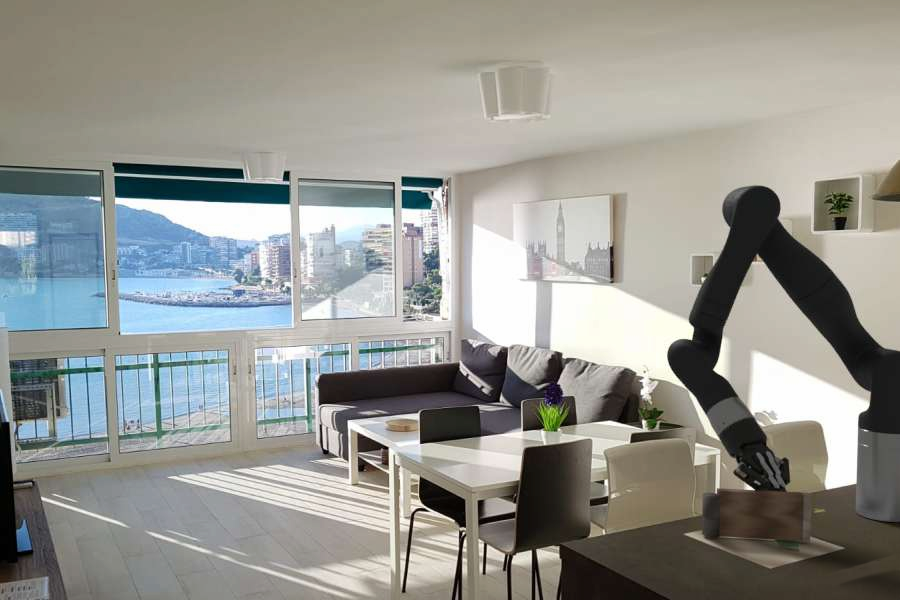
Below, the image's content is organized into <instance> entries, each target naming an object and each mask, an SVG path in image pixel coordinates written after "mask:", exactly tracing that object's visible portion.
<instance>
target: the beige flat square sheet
mask: <svg viewBox="0 0 900 600" xmlns="http://www.w3.org/2000/svg"><path fill="white" fill-rule="evenodd" d="M683 535H685V536H687V537H689V538H692V539H695V540H697V541H700V542H702V543H704V544H706V545H709V546H712V547H714V548H717V549H720V550H722V551H724V552H727V553H730V554H733V555H734V556H737V557H739V558H742V559H744V560H745V559H746V560H747V561H750V562H753V563H755V564H758V565H759V566H763V567H765V568H768V569H775V568H778V567H782V566H785V565H790V564H793V563H797V562H800V561H803V560H807V559H811V558H814V557H818V556H822V555H823V556H824V555H826V554H829V553H833V552H837V551H840V550H845V547H843V546H840V545H836V544H835V543H830V542H828V541H824V540H823V539H822V540H821V539H818V538H816V537H813V536H810V542H805V541H791V540H773V539H755V538H738V537H720V536H719V537H707V536H704V535H702V529H700V530H696V531H692V532H687V533H683Z"/></svg>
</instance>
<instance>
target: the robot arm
mask: <svg viewBox="0 0 900 600" xmlns="http://www.w3.org/2000/svg"><path fill="white" fill-rule="evenodd" d="M721 213H722V215H723V216H722V217H723V219H724V222H725V223H726V225H727V226H728V227H729V232H728V235H727V237H726V241H725V243H724V245H723V248H722V250H721V252H720V254H719V256H718V258H717V259H716V262H715V263H714V264H713V266H712V267H711V269H710V270H709V272H708V273H707V274H706V277H705V279H704V280H703V282H702V284H701V285H700V287H699V290H698V293H697V295H696V298H695V300H694V303H693V305H692V308H691V310H690V312H689V316H688V322H689V325H690V326H692V328H693V332H692V338H691V339H689V338H680V339H679V338H678V339H677V340H674V341H673V342H672V343H671V344H670V345H669V347H668V349H667V352H666V353H667V354H666V355H667V356H666V359H667V363H668V366H669V368H670V369H671V371H672V373H673V375H675V376H676V378H677V379H678V380H679V381H680V382H681V383H682V385H683V386H684V387H685V388H686V389H687V390H688V391H689V392H690V393H691V394H692V395H693V396H694V398H695V399H696V401H697V403H698V404H699V406H700V408H701V409H702V411H703V413H704V415H706V417H707V419H708V422H709V423H710V426H711V428H712V429H713V431H714V432H715V434H716V437H718V439H719V441H720V443H722V446H723V448H724V449H725V451H727V454H728V455H729V457H731V458H733V459H735V461H736V463H737V467H736V468H735V469H734V470H733V471H732V473H733V475H734V476H735V477H736V478H738V479H739V480H741V481H742V482H743V483H745V484H746V485H747V486H749V487H751V488H752V490H762V491H783V492H788V491H787V489H786V487H787V486H788V484H790V483H791V474H790V470H791V469H790V460H789V459H788V458H787V457H786V456H785V457H782V458H780V457H777V456H776V455H775V452H774V451H773V449H771V448H770V447H769V446H768V445H767V442H768V437H767V435H766V433H765V432H764V430H763V429H762V427H761V425H760V424H759V422H758V421H757V420H756V418H755V416H754V415H753V413H752V412H751V410H750V408H749V407H748V406H747V405H746V404H745V403H744V401H743V400H742V399H741V398H740V396H739V395H738V394H737V392H736V390H735V389H734V388H733V386H732V384H731V383H730V382H729V380H728V379H727V378H726V377H724V376H723V375H722V374H720V373H718V372H716V371H715V367H716V366H717V364H718V363H719V362H718V361H719V358H720V354H721V348H722V343H723V342H722V341H723V335H724V328H725V326H726V324H727V321H728V319H729V317H730V314H731V311H732V309H733V307H734V304H735V301H736V299H737V296H738V293H739V292H740V289H741V287H742V285H743V282H744V280H745V278H746V276H747V274H748V272H749V270H750V268H751V265H752V264H753V262H754V260H755V258H756V256H758V257H759V258H760V259H761V260H762V262H763V263H764V265H765V266H766V268H767V269H768V270H769V272H770V273H771V274H772V276H773V277H774V278H775V279H776V281H777V283H778V284H779V285H780V286H781V288H782V289H783V290H784V292H785V293H786V294H787V296H788V297H789V298H790V299H791V300H792V302H793V303H794V305H795V306H796V307H797V308H798V309H799V310H800V311H801V313H802V314H803V315H804V316H805V317H806V318H807V319H808V320H809V322H810V323H811V324H812V325H813V326H814V327H815V329H816V330H817V331H818V332H819V333H820V334H821V336H822V337H823V338H824V339H825V340H826V341H827V342H828V343H829V345H830V346H831V347H832V348H833V350H834V352H835V353H836V355H837V356H838V357H839V359H840V360H841V362H842V363H843V365H844V366H845V368H846V369H847V371H848V373H849V374H850V375H851V377H852V379H853V380H854V381H855V383H856V384H857V385H858V386H860V387H861V388H862V389H864V390H865V391H866V392H869V393H870V397H869V406H868V407H867V409H866V410H863V411H862V412H860V413H859V414H858V417H857V446H856V447H857V452H856V453H857V454H856V456H857V457H856V486H855V488H856V489H855V513H856V514H857V515H859V516H861V517H864V518H867V519H870V520H876V521H880V522H889V523H900V350H897V349H891V348H885V347H883V346H882V345H881V344H880V343H879V342H878V341H877V340H876V339H875V338H874V337H872V335H871V333H869V332H868V331H867V329H865V327H864V326H863V325H862V323H861V322H860V319H859V318H858V316H857V312H856V308H855V306H854V302H853V299H852V297H851V295H850V293H849V291H848V289H847V287H846V286H845V285H844V283H843V282H842V281H841V280H840V279H839V277H838V276H837V274H836V273H835V272H834V271H833V270H832V269H831V268H830V266H828V265H827V264H826V263H825V261H823V260H822V259H821V258H820V257H819V256H817V254H815V253H814V252H813V251H811V250H810V249H809V248H807V246H804V245H803V244H802V243H801V242H800V241H798V239H796V238H795V237H794V236H792V234H790V233H789V231H788V230H787V229H786V228H785V226H784V225H783V223H781V221H780V219H779V217H780V214H781V201H780V198H779V196H778V194H777V193H776V192H775V191H774V190H773V189H772V188H770V187H768V186H764V185H747V186H742V187H738V188H735V189H733V190H731V191H730V192H729V193H727V195H726V196H725V198H724V200H723V203H722V209H721Z"/></svg>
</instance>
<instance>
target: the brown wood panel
mask: <svg viewBox="0 0 900 600" xmlns="http://www.w3.org/2000/svg"><path fill="white" fill-rule="evenodd" d="M701 514H702V515H701V516H702V517H701V518H702V519H701V520H702V521H701V530H702V535H704V536H707V537H719V536H720V537H738V538H755V539H773V540H791V541H805V542H810V537H811V531H812V529H811V525H812V494H810V493H809V492H805V491H804V492H802V491H801V492H799V491H787V492H783V491H762V490H754V489H739V488H738V489H737V488H722V487H721V488H718V487H717V488H716V492H703V493H702V513H701Z"/></svg>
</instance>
